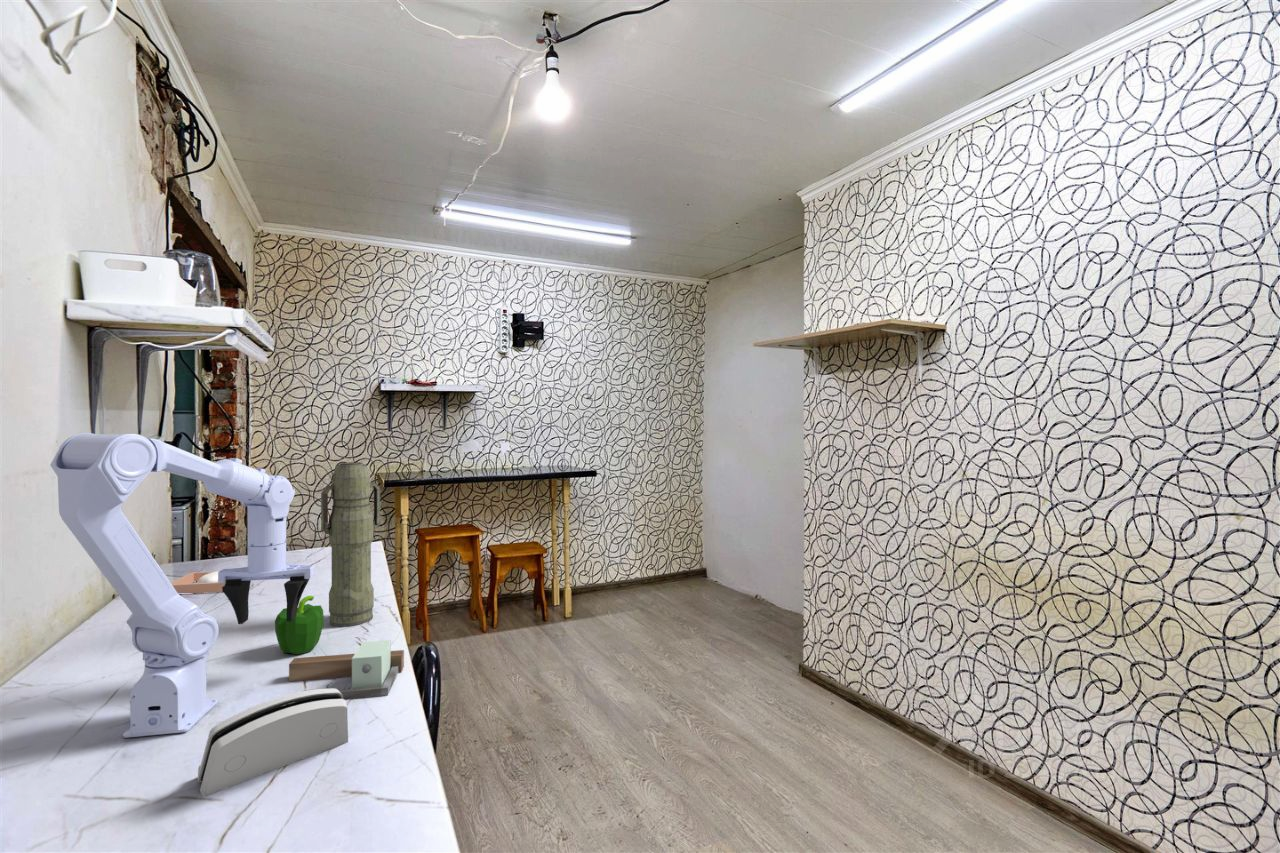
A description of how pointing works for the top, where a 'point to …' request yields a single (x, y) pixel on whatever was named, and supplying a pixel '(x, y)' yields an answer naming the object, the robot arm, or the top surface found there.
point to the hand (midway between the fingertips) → (267, 620)
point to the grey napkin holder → (272, 737)
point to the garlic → (209, 578)
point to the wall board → (343, 672)
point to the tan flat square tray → (196, 584)
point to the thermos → (350, 543)
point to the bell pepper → (300, 628)
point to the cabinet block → (371, 664)
